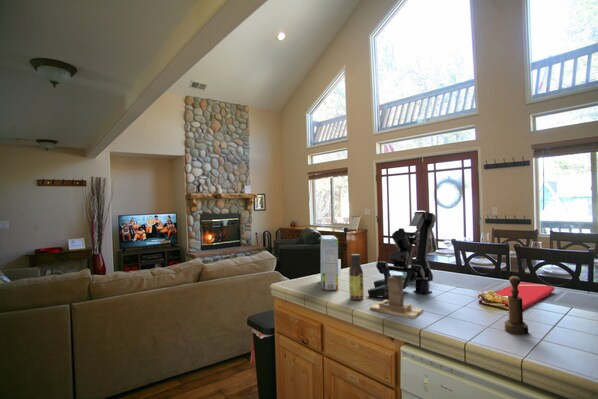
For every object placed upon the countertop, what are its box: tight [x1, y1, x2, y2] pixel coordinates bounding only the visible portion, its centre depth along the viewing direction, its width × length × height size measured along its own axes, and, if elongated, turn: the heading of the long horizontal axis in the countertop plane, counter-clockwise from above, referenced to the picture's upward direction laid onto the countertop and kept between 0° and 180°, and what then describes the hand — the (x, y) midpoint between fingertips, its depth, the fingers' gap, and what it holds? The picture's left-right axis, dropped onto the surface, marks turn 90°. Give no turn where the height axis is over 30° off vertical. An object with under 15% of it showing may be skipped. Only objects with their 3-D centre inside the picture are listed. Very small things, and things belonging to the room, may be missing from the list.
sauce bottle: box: [348, 253, 365, 301], centre depth 150 cm, size 6×6×20 cm
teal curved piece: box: [367, 274, 414, 298], centre depth 156 cm, size 20×6×20 cm
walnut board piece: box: [388, 274, 404, 307], centre depth 132 cm, size 5×4×12 cm
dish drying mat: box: [478, 281, 556, 310], centre depth 145 cm, size 16×41×4 cm, turn 126°
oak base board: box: [369, 299, 424, 319], centre depth 132 cm, size 10×18×3 cm, turn 52°
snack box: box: [320, 234, 339, 291], centre depth 175 cm, size 22×9×26 cm, turn 179°
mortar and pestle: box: [504, 275, 529, 336], centre depth 109 cm, size 7×6×18 cm
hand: (394, 287), depth 131 cm, fingers open, 7 cm apart
